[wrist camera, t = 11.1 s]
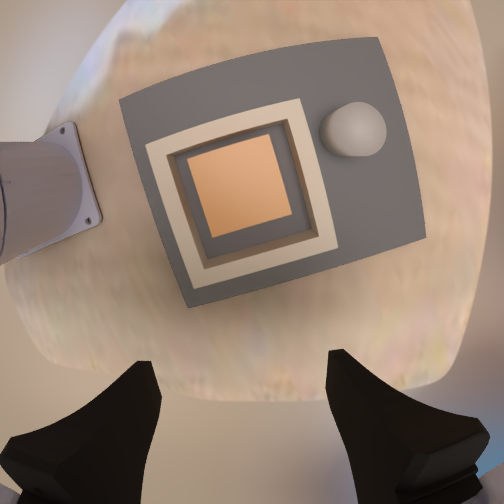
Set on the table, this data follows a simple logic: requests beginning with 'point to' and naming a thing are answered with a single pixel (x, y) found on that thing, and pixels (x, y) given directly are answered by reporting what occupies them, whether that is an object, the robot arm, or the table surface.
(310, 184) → the board
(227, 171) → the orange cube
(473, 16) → the table surface
